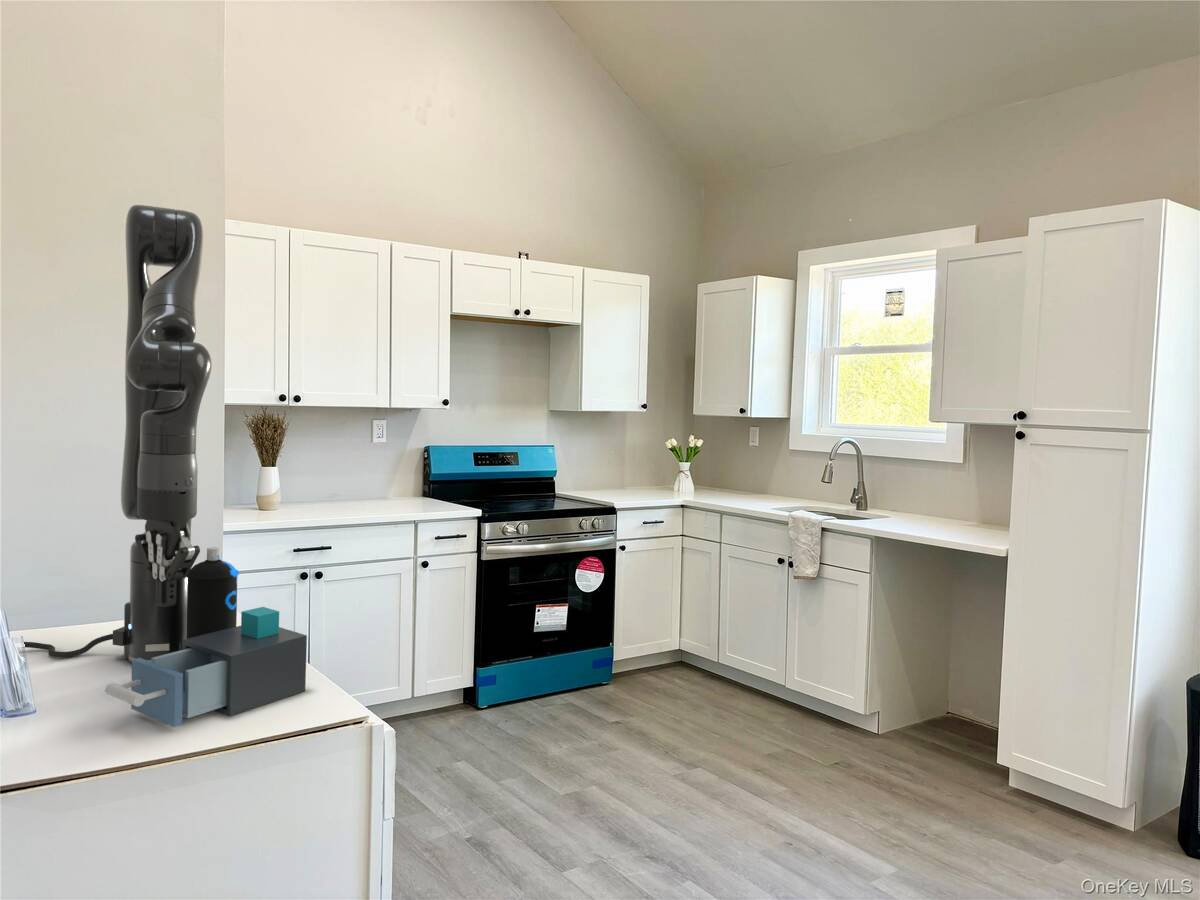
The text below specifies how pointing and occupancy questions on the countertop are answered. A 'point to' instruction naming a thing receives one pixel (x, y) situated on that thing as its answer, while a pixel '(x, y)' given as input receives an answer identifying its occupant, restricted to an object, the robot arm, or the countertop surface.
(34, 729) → the countertop surface
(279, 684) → the dark grey drawer cabinet
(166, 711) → the blue drawer
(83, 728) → the countertop surface
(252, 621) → the teal cube
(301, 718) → the countertop surface
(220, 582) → the aerosol can
